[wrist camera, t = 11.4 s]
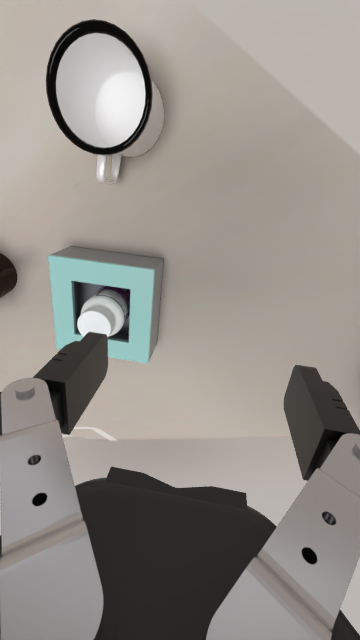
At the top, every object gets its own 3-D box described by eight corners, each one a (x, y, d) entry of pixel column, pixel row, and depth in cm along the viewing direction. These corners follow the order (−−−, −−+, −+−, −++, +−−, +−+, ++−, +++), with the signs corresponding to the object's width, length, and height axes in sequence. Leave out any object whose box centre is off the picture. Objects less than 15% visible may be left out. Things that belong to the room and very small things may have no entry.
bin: (163, 258, 39) (154, 270, 34) (157, 342, 45) (147, 363, 40) (71, 246, 41) (48, 255, 35) (76, 329, 46) (56, 348, 41)
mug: (92, 52, 31) (46, 4, 23) (178, 74, 31) (161, 33, 23) (83, 174, 36) (42, 170, 28) (156, 193, 36) (136, 195, 28)
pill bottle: (114, 321, 44) (90, 355, 35) (92, 292, 42) (61, 319, 33) (143, 304, 42) (125, 335, 33) (121, 273, 40) (96, 297, 32)
